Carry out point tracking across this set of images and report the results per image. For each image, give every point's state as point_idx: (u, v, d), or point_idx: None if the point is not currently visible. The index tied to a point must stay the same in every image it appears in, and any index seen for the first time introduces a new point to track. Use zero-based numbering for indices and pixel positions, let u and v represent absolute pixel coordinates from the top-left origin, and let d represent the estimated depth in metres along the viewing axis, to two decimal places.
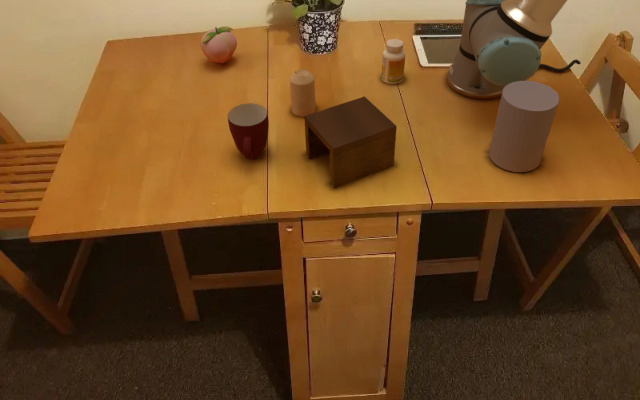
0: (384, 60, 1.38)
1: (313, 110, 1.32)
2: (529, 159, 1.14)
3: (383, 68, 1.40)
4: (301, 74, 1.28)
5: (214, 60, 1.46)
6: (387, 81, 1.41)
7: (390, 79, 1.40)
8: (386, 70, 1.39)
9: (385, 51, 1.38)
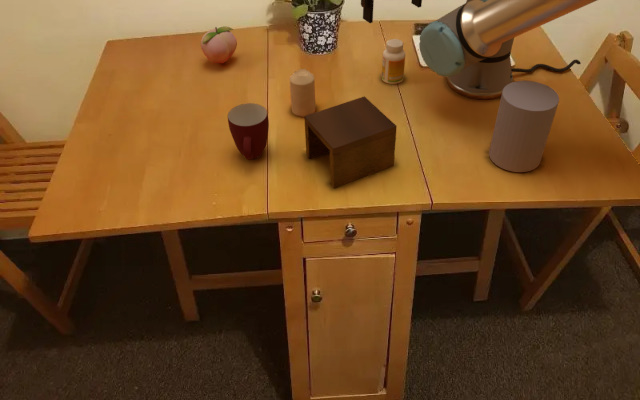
0: (384, 60, 1.38)
1: (313, 110, 1.32)
2: (529, 159, 1.14)
3: (383, 68, 1.40)
4: (301, 74, 1.28)
5: (214, 60, 1.46)
6: (387, 81, 1.41)
7: (390, 79, 1.40)
8: (386, 70, 1.39)
9: (385, 51, 1.38)
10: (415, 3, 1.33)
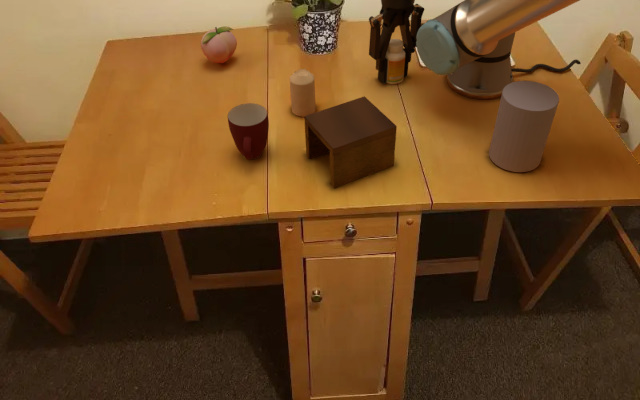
0: None
1: (313, 110, 1.32)
2: (529, 159, 1.14)
3: None
4: (301, 74, 1.28)
5: (214, 60, 1.46)
6: (387, 81, 1.41)
7: (390, 79, 1.40)
8: None
9: None
10: None
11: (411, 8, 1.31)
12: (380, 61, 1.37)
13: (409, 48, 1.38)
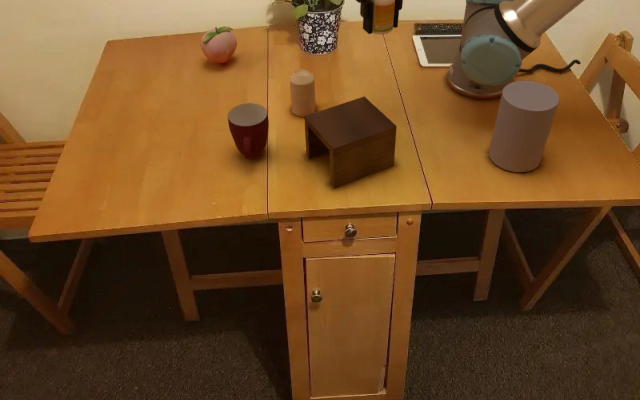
0: None
1: (313, 110, 1.32)
2: (529, 159, 1.14)
3: None
4: (301, 74, 1.28)
5: (214, 60, 1.46)
6: (373, 31, 1.20)
7: (377, 28, 1.20)
8: None
9: None
10: None
11: None
12: (365, 5, 1.16)
13: None
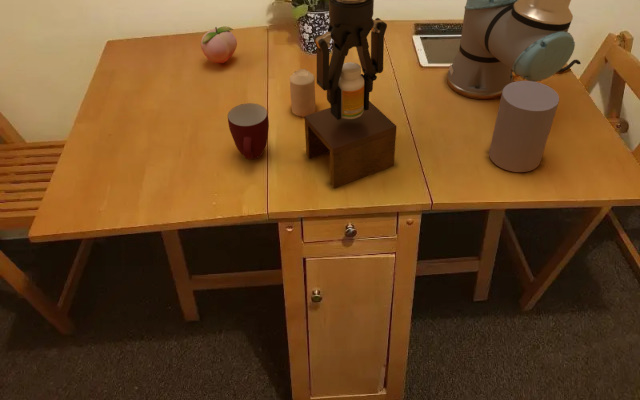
0: None
1: (313, 110, 1.32)
2: (529, 159, 1.14)
3: None
4: (301, 74, 1.28)
5: (214, 60, 1.46)
6: (341, 116, 1.10)
7: (345, 113, 1.09)
8: None
9: None
10: None
11: (369, 24, 1.00)
12: (331, 92, 1.06)
13: (369, 75, 1.07)
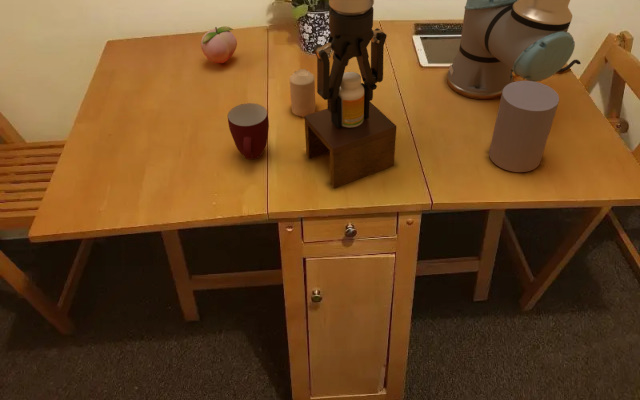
0: None
1: (313, 110, 1.32)
2: (529, 159, 1.14)
3: None
4: (301, 74, 1.28)
5: (214, 60, 1.46)
6: (342, 124, 1.12)
7: (346, 122, 1.11)
8: None
9: None
10: None
11: (369, 35, 1.02)
12: (332, 101, 1.07)
13: (369, 84, 1.09)
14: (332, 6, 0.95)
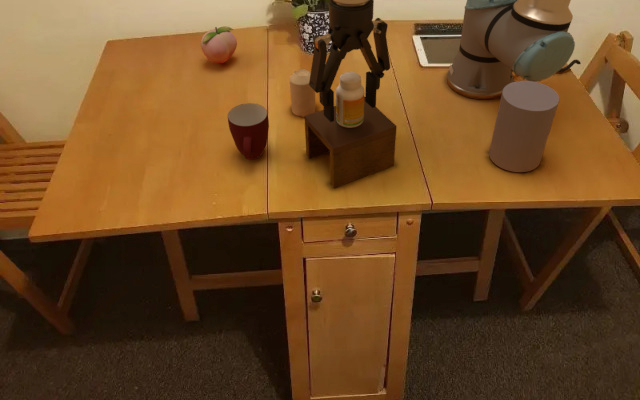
0: (337, 99, 1.09)
1: (313, 110, 1.32)
2: (529, 159, 1.14)
3: (337, 108, 1.11)
4: (301, 74, 1.28)
5: (214, 60, 1.46)
6: (342, 125, 1.12)
7: (346, 122, 1.11)
8: (340, 111, 1.10)
9: (339, 87, 1.08)
10: (369, 102, 1.13)
11: (369, 27, 1.01)
12: (324, 94, 1.05)
13: (376, 72, 1.08)
14: None
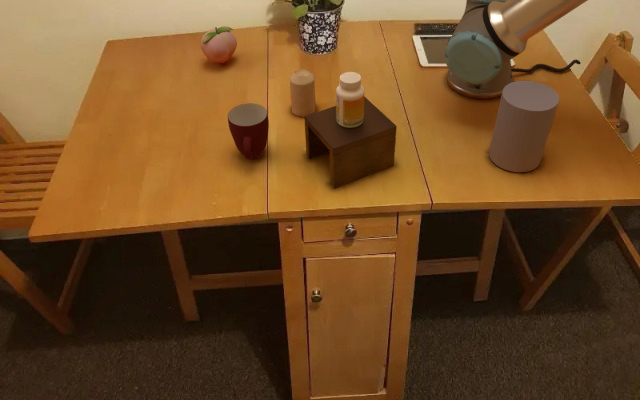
0: (337, 99, 1.09)
1: (313, 110, 1.32)
2: (529, 159, 1.14)
3: (337, 108, 1.11)
4: (301, 74, 1.28)
5: (214, 60, 1.46)
6: (342, 125, 1.12)
7: (346, 122, 1.11)
8: (340, 111, 1.10)
9: (339, 87, 1.08)
10: None
11: None
12: None
13: None
14: None
